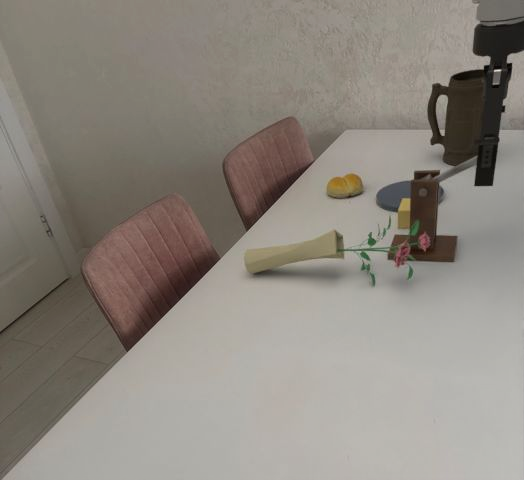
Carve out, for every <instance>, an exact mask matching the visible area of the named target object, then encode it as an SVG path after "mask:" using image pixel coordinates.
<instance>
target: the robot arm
mask: <svg viewBox="0 0 524 480" xmlns="http://www.w3.org/2000/svg"><path fill="white" fill-rule="evenodd" d="M472 4H474V5H476V4H477V7H476V11H475V20H476V21H477V22H479V23H478V24H476V25H475V27H474V29H473V40H472V53H473V54H474V56H476V57H480V58H481V57H482V58H484V57H489V64H484V65H483V68H482V69H483V76H482V83H483V91H482V100H483V101H485V103H484V112H483V121H482V129H481V138H480V139H479V140H475V143H474V146H479V147H478V156H477V164H476V165H475V174H474V175H475V176H474V184H473V186H474V187H494V181H495V173H496V166H497V165H496V164H497V157H498V150H499V143H500V139H501V138H500V130H501V129H500V128H501V121H502V114H505V113H506V106H507V105H504V100H505V99H507V96H508V92H509V85H510V84H509V83H510V81H511V80H512V76H513V75H512V74H513V62H508V56H510V55H511V54H515V55H516V54H519V53H521V52H523V51H524V0H472Z"/></svg>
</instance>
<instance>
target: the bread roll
mask: <svg viewBox="0 0 524 480" xmlns="http://www.w3.org/2000/svg"><path fill="white" fill-rule="evenodd" d="M325 190H326V194H327V195H328V196H330V197H333V198H338V199H345V198H348V197H349V196H350V197H355V196H357V195H360V193H362V192H363V191H364V183H363V179H362V178H361V177H360V176H359V175H357V174H355V173H348V174H347V173H346V175H344V176H333V177H332V178H331V179H330V180H329V181H328V182H327V184H326V189H325Z"/></svg>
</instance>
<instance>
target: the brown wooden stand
mask: <svg viewBox="0 0 524 480" xmlns="http://www.w3.org/2000/svg"><path fill="white" fill-rule="evenodd" d="M429 174H431V176H432V178H434V177H436V176H438V175H440V174H441V169H435V170H434V169H429V170H428V169H426V170H423V169H422V170H414V172H413V179H410V180H411V193H410V228H409V230H410V229H411V227H412V226H413V224H414V223H415V221H416V220H417V219H418V221H419V228H418V231H417V233H416V234H415V236H414V235H411V233H409V234H394V235H393V238H392V241H391V244H390V247H395V246H398V245H401V244H402V243H404V242H405V241H407V243H408V244H412V243H417V242H418V239H419V237H420V236H421V235H423V234H424V233H425V232H426V234H427V236H428V237H430V239H429V240H430V242H429V244H430V245H428V246H429V247H427V248H426V251H425V250H423V249H421V248H419V247H418V245H417V244H415V245H409V246H410V252H409V255H411V256H412V257H413V258H414V259H415V260H416V261H417V262H418V261H420V262H421V261H422V262H443V263H444V262H446V263H453V262H454V261H455V255H456V250H457V244H458V238H459V237H458V235H446V234H445V235H444V234H443V235H442V234H441V235H440V234H437V231H438V216H439V204H438V200H439V185H440V183H438V179H421V178H423V177H425V176H427V175H429ZM407 235H408V236H407ZM409 236H410V237H409ZM408 237H409V238H408ZM407 239H408V240H407ZM395 249H397V248H395ZM395 249H394V248H389V249H388V251H396V250H395ZM424 251H425V252H424ZM394 257H395V253H390V252H387V260H391V261H393V260H394ZM415 260H413V259H410V258H407V261H415Z"/></svg>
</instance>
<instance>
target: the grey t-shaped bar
mask: <svg viewBox="0 0 524 480" xmlns="http://www.w3.org/2000/svg"><path fill="white" fill-rule="evenodd" d="M477 156H478V155H477ZM477 156H475V157H473V158H471V159H469V160H467V161H465V162H463V163H461V164H459V165H457V166H456V165H454V166H453V167H451V168H449V169H447V170H446V171H444V172H442V173H440V175H438V176H436V177H434V178H432V176H431V174H429V175H427V176H425V177H423V178H421V179H438V183H439V184H440V183H442V182H444V181H446V180H448V179H449V178H451V177H454V176H455V175H458V174H459V173H463V172H464V171H467V170H468V169H470V168H471V167H472V168H473V166H476V165H477Z"/></svg>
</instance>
